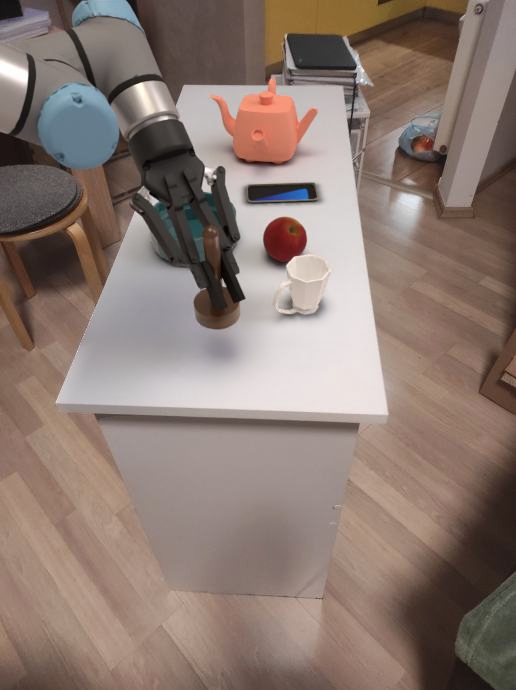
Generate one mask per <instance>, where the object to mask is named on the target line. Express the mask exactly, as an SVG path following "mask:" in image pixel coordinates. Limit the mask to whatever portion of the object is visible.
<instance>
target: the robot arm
mask: <svg viewBox="0 0 516 690" xmlns="http://www.w3.org/2000/svg"><path fill="white" fill-rule="evenodd" d="M71 23H72V24H71V25H72V27H70V28H69V29H66V30H62V31H58V32H53V33H49V34H44V35H40V36H36V37H31V38H26V39H23V40H18V41H13V42H7V41H6V42H5V41H3V40H1V39H0V133H3V134H6V135H8V136H11V137H15V138H17V139H20V140H22V141H25V142H28V143H31V144H34V145H36V146H39V147H42V148H43V150H44V151H45V153H46V154H48V155H49V156H50V157H51V158H53V159H54V160H55V161H57V162H58V163H59V164H60V165H62V166H64V167H66V168H69V169H72V170H76V171H86V170H87V171H88V170H92V169H96V168H98V167H100V166H102V165H104V164H105V163H106V162H108V160H109V159H111V157H112V156H113V154H114V153H115V151H116V148H117V147H118V143H119V140H120V133H121V135H122V138H123V139H124V140H125V141H126V142H127V149H128V151H129V154H130V155H131V158H132V160H133V162H134V164H135V167H136V168H137V171H138V173H139V174H140V179H141V181H140V186H141V188H140V189H139V190H138V191H137V192H135V193H133V195H132V196H131V198H130V200H129V201H128V202H129V207H130V208H131V209H132V210H133V211H134V212H135V213H136V214H138V215H139V216H140V217H141V218H142V219H143V221H144V223H145V224H146V225H147V227H148V230H149V229H150V230H151V232H152V233H153V235H154V237H155V238H156V240H157V242H158V243H159V245H160V246H161V248H162V250H163V251H164V253H165V254H166V256H167V258H168V259H169V261H168V262H170V264H171V265H172V267H174V268H178V267H186V268H188V269H189V270H190V272H191V273H190V274H191V275H192V277H193V279H194V282H195V284H196V286H197V288H198V289H199V290H200V291H202V290H204V289H207V292H208V294H209V296H210V298H211V301H212V303H213V305H214V307H215V309H216V312H217V311H220V310H222V309H225V308H227V307H228V305H227V303H226V301H225V298H224V296H223V294H222V292H221V289H220V287H219V285H218V283H217V281H216V278H215V276H214V274H213V272H212V269H211V267H210V265H209V263H208V260H204V261H202V262H200V256H199V253H198V250H197V247H196V244H195V241H194V238H193V235H192V233H191V230H190V227H189V224H188V221H187V218H186V215H185V212H184V205H183V203H188V204H189V206H190V208H191V209H192V210H193V211H194V212H195V214H196V216H197V218H198V219H199V221H200V223H201V225H202V227H203V228H205V227H206V226H209V225H212V226H215V227H216V228H217V229H218V232H219V242H220V255H221V268H222V282H223V284H224V285H225V287H227V290H228V292H229V294H230V296H231V299H232V301H233V303H234V304H235V303H237V302H240V303H241V302H242V301H245V300H247V298H246V296H245V293H244V291H243V289H242V287H241V284H240V282H239V280H238V278H237V275H238V274H240V273H241V272H240V267H239V265H238V262H237V259H236V258H235V256H234V253H233V249H232V247H233V245H234V244H235V243H236V244H237V242H238V241H240V240H241V233H240V230H239V227H238V226H239V225H238V222H237V223H236V219H235V216H234V213H233V209H232V206H231V203H232V202H231V199H230V195H229V192H228V189H227V186H226V173H227V172H226V168H225V167H224V166H222V165H218V166H217V167H216V168H215V167H210V166H206V165H205V163H204V162H203V160H201V159H200V158H199V157H198V155H197V154H196V151H195V148H194V145H193V142H192V141H191V138H190V136H189V134H188V132H187V129H186V127H185V125H184V123H183V122H182V121H180V113H179V111H178V108H177V106H176V103H175V102H174V99H173V97H172V95H171V93H170V90H169V88H168V86H167V84H166V82H165V79H164V78H163V76H162V72H161V71H160V68H159V66H158V64H157V61H156V59H155V56H154V54H153V51H152V49H151V46H150V44H149V41H148V39H147V35H146V32H145V30H144V29H143V27H142V26H141V23H140V22H139V19H138V17H137V16H136V14H135V11H134V10H133V8H132V6H131V5H130V3H129V2H128V1H127V0H82V1H81V2H79V3H78V4H77V5H76V7H75V8H74V10H73V12H72V16H71ZM204 179H205V180H206V183H207V186H210V193H212V197H213V200H214V204H215V207H216V211H217V214H218V217H219V221H220V224H221V226H220V224H219V223H218V221H217V219H216V217H215V215H214V213H213V212H212V210H211V208H210V206H209V204H208V203H207V200H206V196H205V194H204V192H205V191H204V190H203V183H204ZM152 198H153V199H155V200H157V201H158V202H159V201H160V202H161V203H163V204H164V205H165V207H166V210H167V213H168V216H169V217H170V218H171V221H172V224H173V227H174V230H175V233H176V236H177V238H178V241H179V244H180V247H181V250H182V251H181V250H180V248H179V246H178V245H177V243H176V241H175V240H174V238H173V237H172V235H171V233H170V232H169V230H168V229H167V227H166V225H165V224H164V222H163V220H162V219H161V217H160V216H159V214H158V212H157V211H156V209H155V208H154V204H152V203H153V199H152ZM236 244H235V245H236ZM233 248H234V247H233Z"/></svg>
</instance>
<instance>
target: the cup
mask: <svg viewBox="0 0 516 690" xmlns="http://www.w3.org/2000/svg"><path fill="white" fill-rule="evenodd" d="M285 271H286V276H287V280H285V281H283V282H282V283H281V284H279V286H278V287H277V289H276V290H275V291H274V295H273V300H272V306H273V309H275V311H277V312H279V313H280V314H286V315H292V314H296V313H298V314H301V315H304V316H305V315H309V314H314V313H315V312H316V311H317V310H318V309H319V307H320V306H319V303H320V302H321V301H322V298H323V296H324V293H325V291H326V287H327V284H328V281H329V278H330V275H331V272H332V269H331V266H330V264H329V263H328V261H327V260H326V259H325V258H323V257H320V256H318V255H315V254H311V253H308V254H300V255H299V256H295V257H293V258H292V260H291V261H288V263H286V265H285ZM287 287H288V291H289V294H290V297H291V300H292V302H291V305H292V308H291V309H283V308H279V307H278V301H279V298H280V295H281V294H282V292H283V291H284V290H285V289H286V288H287Z"/></svg>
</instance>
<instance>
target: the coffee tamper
mask: <svg viewBox="0 0 516 690" xmlns="http://www.w3.org/2000/svg"><path fill="white" fill-rule="evenodd" d="M202 236H203V245H204V255H205V260H208V263H209V265H210V267H211V269H212V272H213V274H214V276H215V278H216V281H217V283H218V285H219V287H220V289H221V292H222V294H223V296H224V298H225V301H226V303H227V305H228V307H227V308H225V309H222V310H220V311H217V312H216V309H215V307H214V305H213V303H212V301H211V298H210V296H209V294H208V292H207V289H206V288H204V289H202V290H200V291H199V292H198V293H197V294H196V295H195V297H194V298H193V311H194V317H195V320H196V322H197V323H198V324H199V325H200V326H202V327H203V328H205V329H209V330H215V331H216V330H224V329H227V328H230V327H232V326H234V325H235V324H236V323H237V322H238V321H239V320H240V317H241V301H240V302H237V303H235V304H234V303H233V301H232V299H231V296H230V294H229V292H228V290H227V287H226V286H224V281H223V278H222V268H221V255H220V242H219V232H218V229H217V228H216V227H215V226H212V225H209V226H206V227H205V228H204V229H203V232H202Z"/></svg>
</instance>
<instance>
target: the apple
mask: <svg viewBox="0 0 516 690" xmlns="http://www.w3.org/2000/svg"><path fill="white" fill-rule="evenodd" d="M269 222H270V223H268V224H267V225H266V227H265V229H264V231H263V235H262V243H263V247H264V249H265V251H266V253H267V254H268V255H269V256H270V257H271V258H272V259H274V260H276V261H277V262H280V263H287V262H290V261H291V260H292V258H293V257H295V256H301V255H302V253H303V252H304V251H305V249H306V247H307V245H308V237H307V235H308V234H307V231H306V228H305V227H304V226H303V224H302V223H300V221H298V220H297V219H296V218H294V217H290V216H280V217H279V216H278V217H277V218H275V219H273V220H272V221H269Z"/></svg>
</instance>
